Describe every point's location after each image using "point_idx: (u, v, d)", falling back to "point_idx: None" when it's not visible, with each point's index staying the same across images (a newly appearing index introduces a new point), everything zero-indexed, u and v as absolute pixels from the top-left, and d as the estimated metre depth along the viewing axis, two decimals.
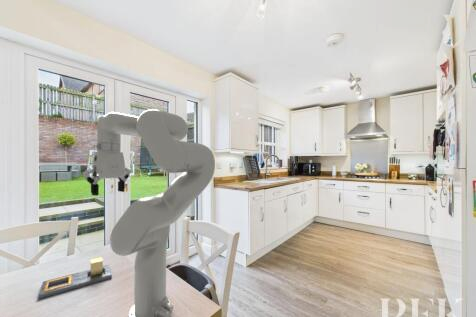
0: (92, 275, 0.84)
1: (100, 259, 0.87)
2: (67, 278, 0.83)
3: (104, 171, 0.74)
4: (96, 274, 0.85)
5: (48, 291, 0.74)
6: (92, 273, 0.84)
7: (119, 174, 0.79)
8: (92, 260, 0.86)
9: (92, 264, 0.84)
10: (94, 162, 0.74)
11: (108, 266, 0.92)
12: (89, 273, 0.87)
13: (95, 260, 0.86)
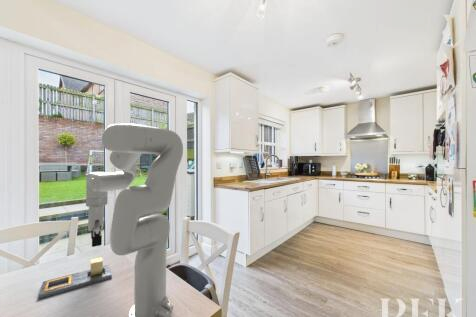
0: (92, 275, 0.84)
1: (100, 259, 0.87)
2: (67, 278, 0.83)
3: None
4: (96, 274, 0.85)
5: (48, 291, 0.74)
6: (92, 273, 0.84)
7: (88, 227, 0.83)
8: (92, 260, 0.86)
9: (92, 264, 0.84)
10: None
11: (108, 266, 0.92)
12: (89, 273, 0.87)
13: (95, 260, 0.86)
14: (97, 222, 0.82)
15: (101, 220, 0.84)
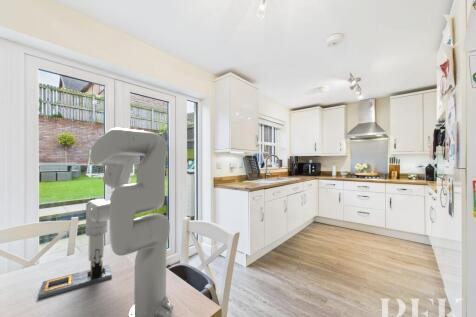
0: None
1: None
2: (67, 278, 0.83)
3: None
4: None
5: (48, 291, 0.74)
6: None
7: (88, 257, 0.83)
8: (92, 260, 0.86)
9: (92, 264, 0.84)
10: None
11: (108, 266, 0.92)
12: (89, 273, 0.87)
13: (95, 260, 0.86)
14: (97, 254, 0.82)
15: (101, 249, 0.83)
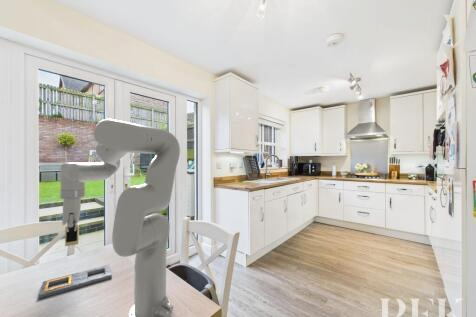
0: None
1: (76, 225, 0.82)
2: (67, 278, 0.83)
3: None
4: None
5: (48, 291, 0.74)
6: None
7: None
8: None
9: None
10: None
11: (108, 266, 0.92)
12: (89, 273, 0.87)
13: None
14: (71, 218, 0.78)
15: (76, 213, 0.79)
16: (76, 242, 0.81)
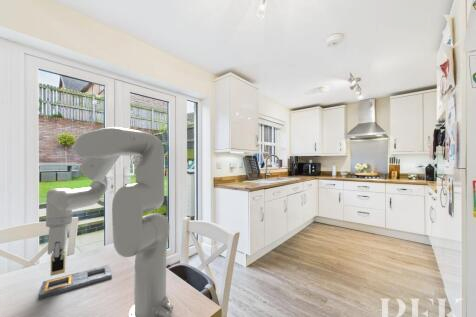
0: None
1: (63, 253, 0.80)
2: (67, 278, 0.83)
3: None
4: None
5: (48, 291, 0.74)
6: None
7: None
8: None
9: (52, 258, 0.77)
10: None
11: (108, 266, 0.92)
12: (89, 273, 0.87)
13: None
14: (57, 247, 0.75)
15: (62, 242, 0.76)
16: (62, 271, 0.79)
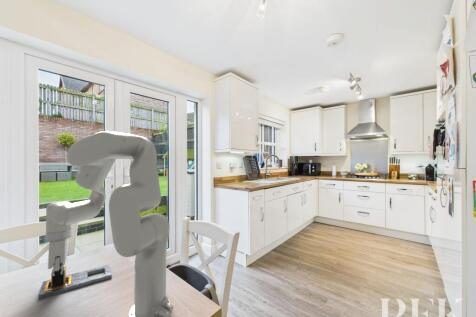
0: None
1: (63, 268, 0.80)
2: (67, 278, 0.83)
3: None
4: None
5: (48, 291, 0.74)
6: None
7: None
8: None
9: None
10: None
11: (108, 266, 0.92)
12: (89, 273, 0.87)
13: None
14: (57, 261, 0.75)
15: (62, 256, 0.76)
16: None
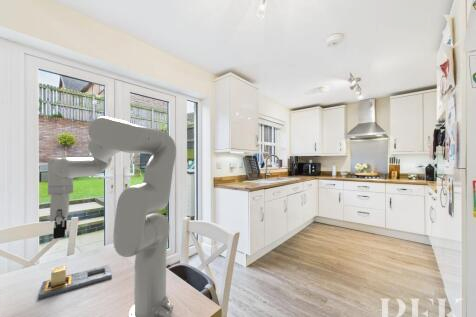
0: (53, 286, 0.77)
1: (63, 268, 0.80)
2: (67, 278, 0.83)
3: None
4: (57, 285, 0.78)
5: (48, 291, 0.74)
6: (53, 284, 0.77)
7: None
8: (54, 269, 0.79)
9: (53, 274, 0.77)
10: None
11: (108, 266, 0.92)
12: (89, 273, 0.87)
13: (57, 269, 0.79)
14: (59, 212, 0.75)
15: (64, 210, 0.77)
16: None
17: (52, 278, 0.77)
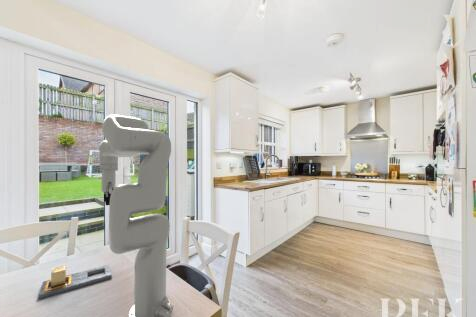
0: (53, 286, 0.77)
1: (63, 268, 0.80)
2: (67, 278, 0.83)
3: (101, 185, 1.00)
4: (57, 285, 0.78)
5: (48, 291, 0.74)
6: (53, 284, 0.77)
7: (102, 189, 0.95)
8: (54, 269, 0.79)
9: (53, 274, 0.77)
10: None
11: (108, 266, 0.92)
12: (89, 273, 0.87)
13: (57, 269, 0.79)
14: (110, 184, 0.94)
15: (113, 183, 0.96)
16: None
17: (52, 278, 0.77)
